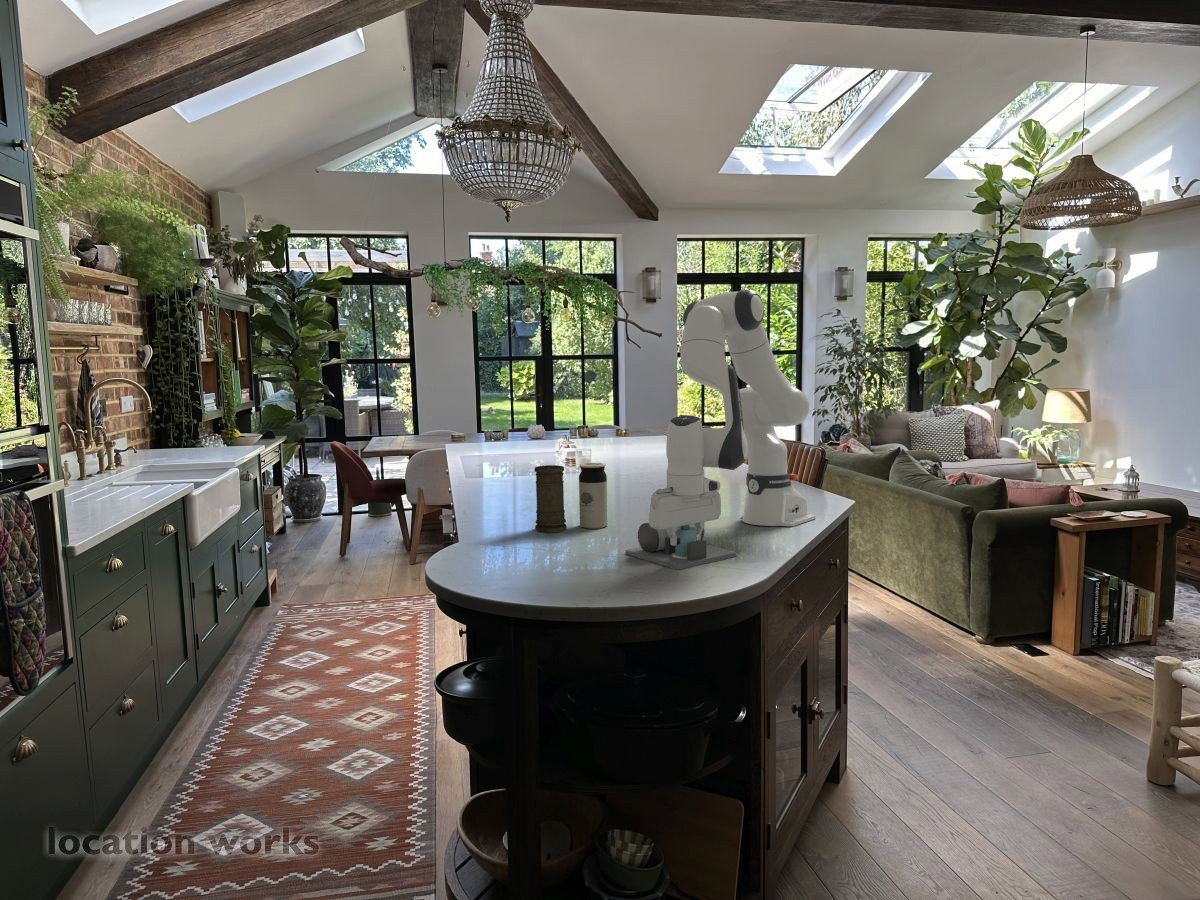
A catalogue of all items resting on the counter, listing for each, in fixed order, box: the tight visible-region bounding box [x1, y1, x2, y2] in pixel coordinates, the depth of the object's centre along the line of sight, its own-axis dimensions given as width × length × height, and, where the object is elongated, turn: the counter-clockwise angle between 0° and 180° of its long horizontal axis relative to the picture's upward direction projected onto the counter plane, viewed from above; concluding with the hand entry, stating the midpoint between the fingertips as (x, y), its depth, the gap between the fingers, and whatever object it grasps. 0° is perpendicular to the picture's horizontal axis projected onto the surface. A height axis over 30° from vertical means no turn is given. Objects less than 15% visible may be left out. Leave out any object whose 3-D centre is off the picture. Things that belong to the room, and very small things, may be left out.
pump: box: [675, 525, 696, 556], centre depth 187 cm, size 5×5×8 cm
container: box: [534, 464, 568, 534], centre depth 222 cm, size 9×9×18 cm
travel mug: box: [578, 462, 609, 530], centre depth 226 cm, size 8×8×18 cm
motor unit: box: [625, 522, 737, 570], centre depth 191 cm, size 19×19×10 cm
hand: (685, 542), depth 187 cm, fingers open, 5 cm apart
